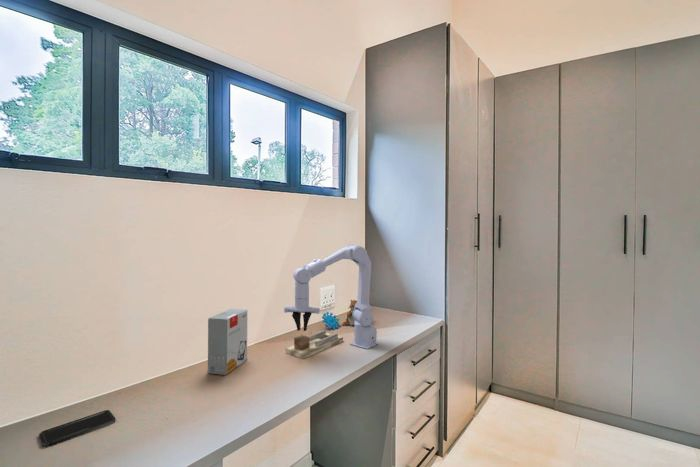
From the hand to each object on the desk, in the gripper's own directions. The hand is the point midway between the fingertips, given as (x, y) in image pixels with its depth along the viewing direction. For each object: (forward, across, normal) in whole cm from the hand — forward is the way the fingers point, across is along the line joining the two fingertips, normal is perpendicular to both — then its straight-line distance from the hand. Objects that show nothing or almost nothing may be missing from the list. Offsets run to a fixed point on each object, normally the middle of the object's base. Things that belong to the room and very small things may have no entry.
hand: (302, 330), depth 145 cm
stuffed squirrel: (+10, -17, -44) cm, 48 cm away
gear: (+10, -5, -36) cm, 37 cm away
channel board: (+9, -4, -7) cm, 13 cm away
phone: (+10, +43, +60) cm, 75 cm away
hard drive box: (+10, +23, +17) cm, 31 cm away
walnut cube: (+7, 0, 0) cm, 7 cm away
